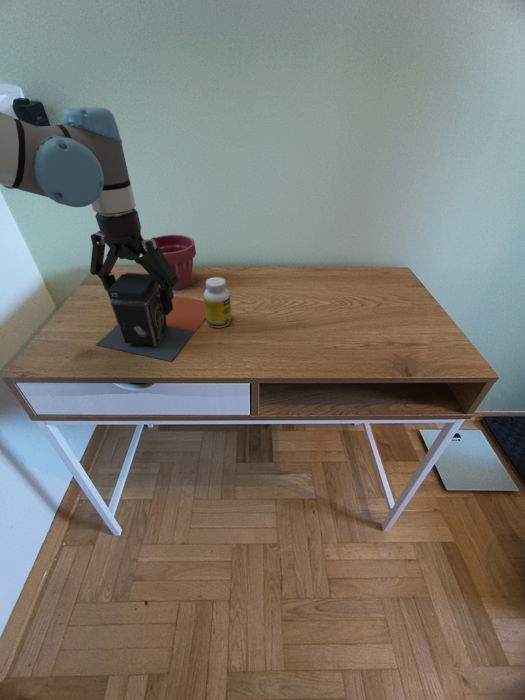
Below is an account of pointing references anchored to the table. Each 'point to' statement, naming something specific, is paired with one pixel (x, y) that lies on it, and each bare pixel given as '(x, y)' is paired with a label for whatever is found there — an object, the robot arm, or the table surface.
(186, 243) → the flower pot
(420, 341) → the table surface
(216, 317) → the pill bottle
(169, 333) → the desk mat
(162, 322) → the camera
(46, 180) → the robot arm
